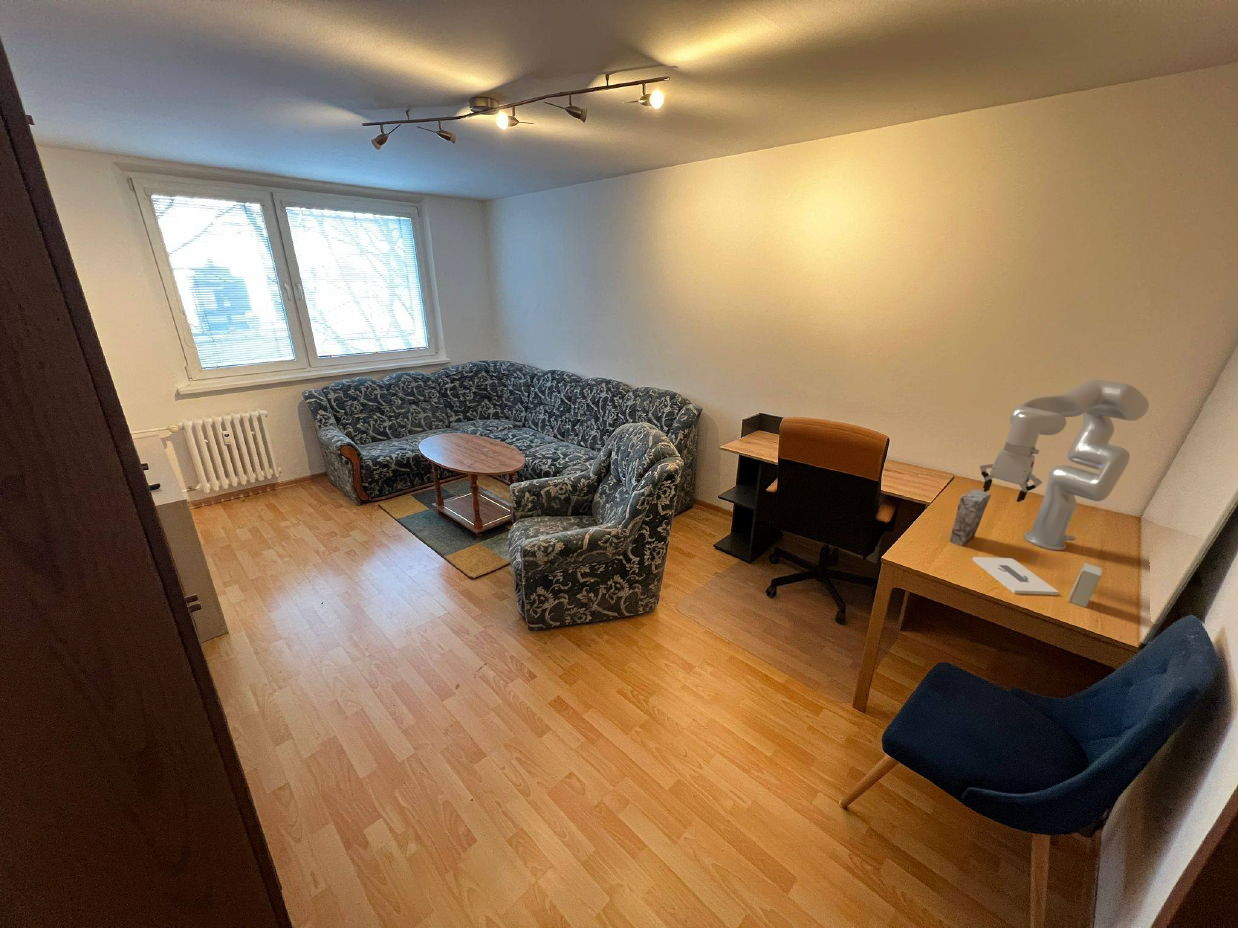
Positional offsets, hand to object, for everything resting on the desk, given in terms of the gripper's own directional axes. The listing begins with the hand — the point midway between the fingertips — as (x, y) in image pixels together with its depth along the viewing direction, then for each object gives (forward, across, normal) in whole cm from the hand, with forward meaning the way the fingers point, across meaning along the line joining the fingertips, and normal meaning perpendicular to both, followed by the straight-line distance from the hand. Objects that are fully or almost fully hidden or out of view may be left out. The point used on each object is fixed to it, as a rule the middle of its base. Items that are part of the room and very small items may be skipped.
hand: (1002, 495), depth 163 cm
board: (+26, -10, +2) cm, 28 cm away
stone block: (+26, +10, -11) cm, 30 cm away
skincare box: (+26, -28, 0) cm, 38 cm away
